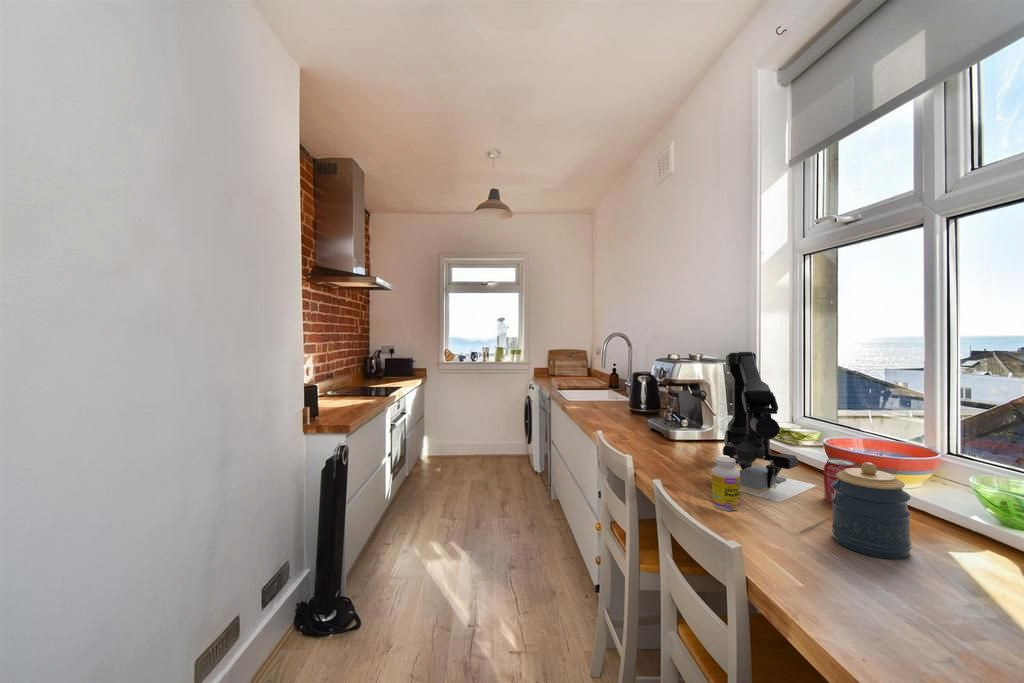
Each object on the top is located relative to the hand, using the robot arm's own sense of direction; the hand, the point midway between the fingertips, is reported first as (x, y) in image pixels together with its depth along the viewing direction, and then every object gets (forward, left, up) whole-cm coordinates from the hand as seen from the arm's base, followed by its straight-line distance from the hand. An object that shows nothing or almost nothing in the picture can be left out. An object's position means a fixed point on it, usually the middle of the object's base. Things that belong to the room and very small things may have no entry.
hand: (758, 485), depth 124 cm
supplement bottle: (+18, +1, -2) cm, 19 cm away
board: (-4, 0, -2) cm, 4 cm away
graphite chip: (-10, 0, 0) cm, 10 cm away
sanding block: (+1, 0, 0) cm, 1 cm away
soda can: (-6, +18, -2) cm, 19 cm away
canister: (+13, +30, -2) cm, 33 cm away
